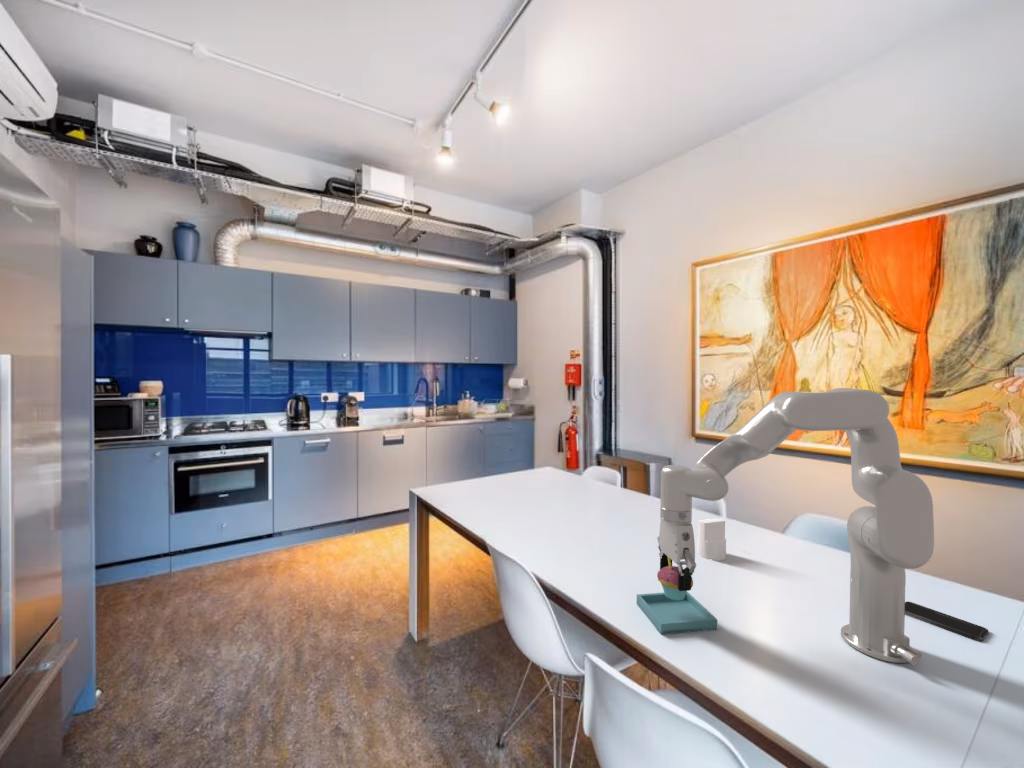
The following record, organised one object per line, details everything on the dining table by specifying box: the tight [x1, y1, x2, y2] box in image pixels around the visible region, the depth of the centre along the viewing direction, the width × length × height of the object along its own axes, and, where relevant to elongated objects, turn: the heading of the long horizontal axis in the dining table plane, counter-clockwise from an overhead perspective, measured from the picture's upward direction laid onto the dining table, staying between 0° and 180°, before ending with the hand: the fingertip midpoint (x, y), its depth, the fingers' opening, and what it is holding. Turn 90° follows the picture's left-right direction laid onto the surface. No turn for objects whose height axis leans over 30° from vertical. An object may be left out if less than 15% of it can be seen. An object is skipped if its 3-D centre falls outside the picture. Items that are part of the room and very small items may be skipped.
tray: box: [636, 591, 718, 635], centre depth 107 cm, size 14×15×2 cm
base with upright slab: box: [696, 517, 727, 561], centre depth 144 cm, size 9×9×12 cm
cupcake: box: [656, 556, 694, 600], centre depth 107 cm, size 9×8×12 cm
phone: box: [905, 601, 990, 643], centre depth 105 cm, size 8×1×15 cm
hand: (674, 580), depth 107 cm, fingers closed on cupcake, 8 cm apart
